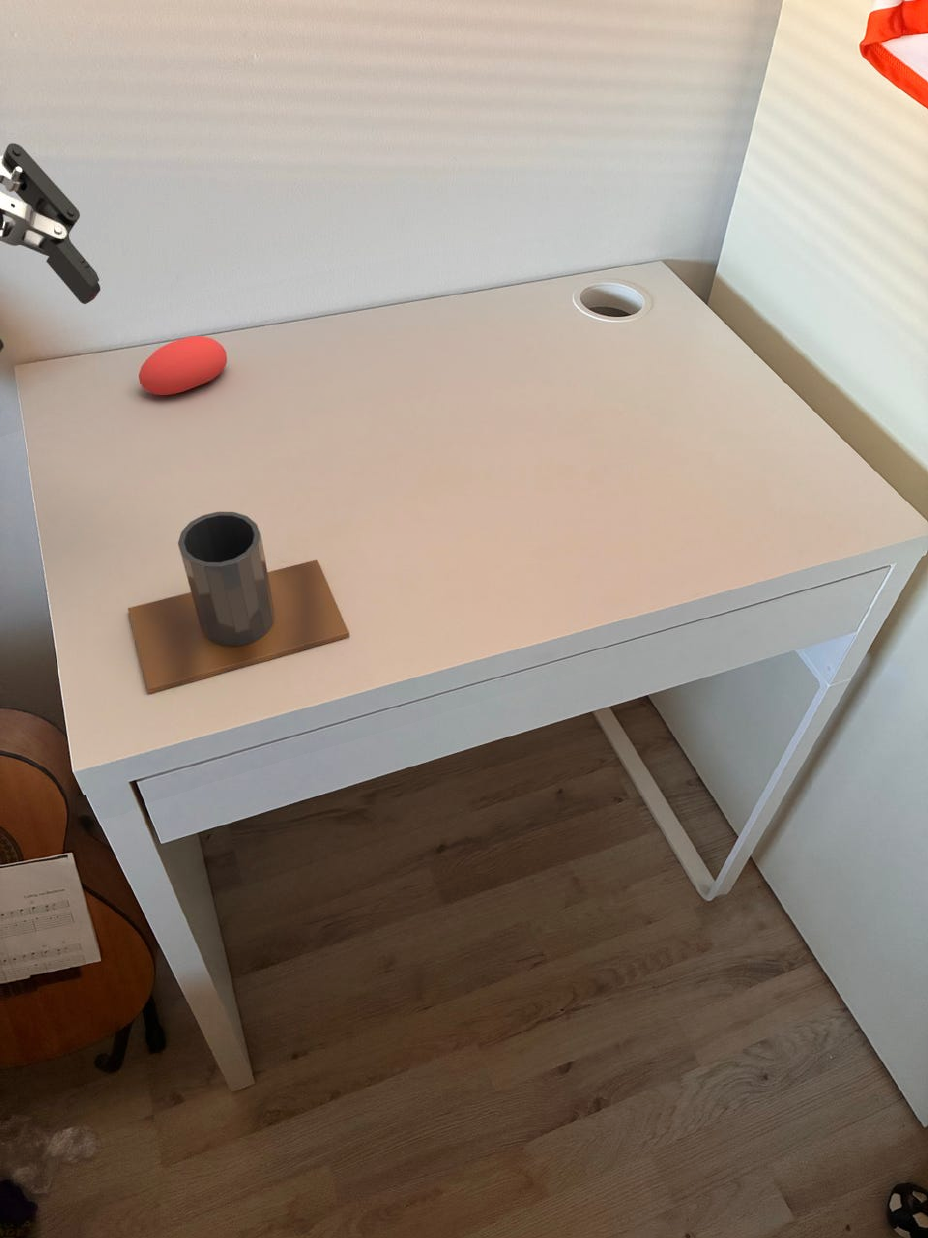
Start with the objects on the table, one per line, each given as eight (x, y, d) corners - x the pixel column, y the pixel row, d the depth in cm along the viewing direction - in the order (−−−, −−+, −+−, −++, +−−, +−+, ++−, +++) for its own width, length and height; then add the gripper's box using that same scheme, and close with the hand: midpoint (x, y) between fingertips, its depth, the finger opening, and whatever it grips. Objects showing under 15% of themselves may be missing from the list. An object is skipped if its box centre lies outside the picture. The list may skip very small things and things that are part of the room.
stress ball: (235, 404, 100) (240, 342, 98) (149, 398, 94) (152, 333, 92) (217, 395, 104) (221, 336, 102) (133, 389, 98) (135, 326, 96)
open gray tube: (209, 655, 74) (187, 574, 68) (193, 603, 78) (171, 522, 71) (282, 635, 76) (268, 554, 69) (264, 585, 80) (249, 503, 73)
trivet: (148, 694, 73) (147, 689, 72) (129, 612, 78) (127, 607, 78) (349, 637, 77) (349, 632, 76) (317, 563, 82) (317, 558, 82)
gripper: (-247, 102, 52) (-24, 350, 57) (-36, 33, 60) (142, 253, 65) (-257, 178, 57) (-53, 398, 62) (-63, 105, 66) (104, 303, 71)
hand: (47, 324), depth 64 cm, fingers open, 8 cm apart
